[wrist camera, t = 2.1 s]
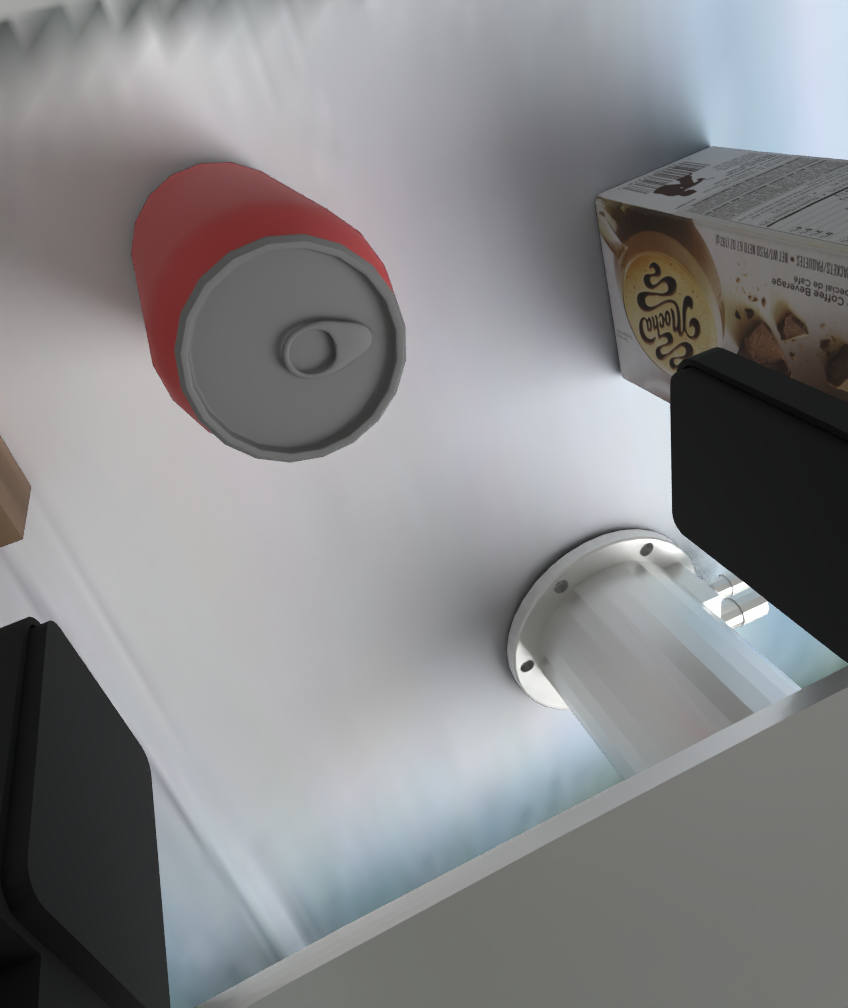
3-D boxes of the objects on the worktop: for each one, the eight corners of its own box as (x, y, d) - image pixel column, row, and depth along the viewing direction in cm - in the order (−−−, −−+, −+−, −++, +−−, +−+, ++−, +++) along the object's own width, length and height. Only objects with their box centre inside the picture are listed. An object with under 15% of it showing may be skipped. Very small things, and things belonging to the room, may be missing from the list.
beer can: (329, 320, 30) (443, 438, 20) (167, 364, 28) (204, 515, 18) (289, 142, 26) (404, 181, 16) (100, 182, 25) (103, 250, 15)
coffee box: (724, 327, 37) (1061, 461, 24) (617, 379, 36) (907, 547, 23) (715, 138, 32) (1137, 180, 19) (589, 193, 31) (944, 276, 18)
